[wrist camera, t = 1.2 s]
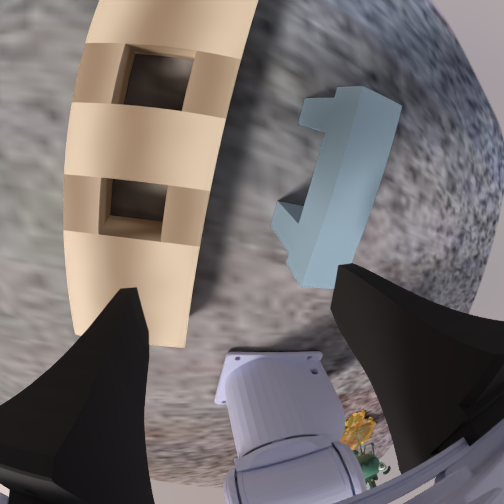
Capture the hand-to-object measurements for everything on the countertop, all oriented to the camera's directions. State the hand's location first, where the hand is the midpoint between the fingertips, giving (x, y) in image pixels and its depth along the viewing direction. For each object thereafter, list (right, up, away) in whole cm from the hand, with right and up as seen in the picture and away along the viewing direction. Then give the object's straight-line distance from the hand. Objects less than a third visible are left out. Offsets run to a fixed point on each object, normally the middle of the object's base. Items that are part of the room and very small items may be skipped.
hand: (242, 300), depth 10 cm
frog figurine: (+17, -30, +31) cm, 46 cm away
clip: (+4, +7, +8) cm, 11 cm away
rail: (-6, +8, +5) cm, 11 cm away
